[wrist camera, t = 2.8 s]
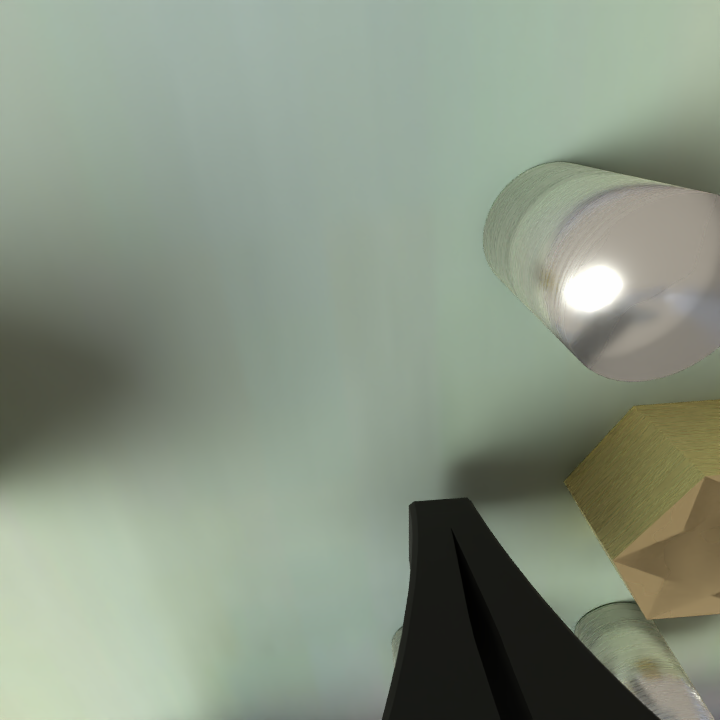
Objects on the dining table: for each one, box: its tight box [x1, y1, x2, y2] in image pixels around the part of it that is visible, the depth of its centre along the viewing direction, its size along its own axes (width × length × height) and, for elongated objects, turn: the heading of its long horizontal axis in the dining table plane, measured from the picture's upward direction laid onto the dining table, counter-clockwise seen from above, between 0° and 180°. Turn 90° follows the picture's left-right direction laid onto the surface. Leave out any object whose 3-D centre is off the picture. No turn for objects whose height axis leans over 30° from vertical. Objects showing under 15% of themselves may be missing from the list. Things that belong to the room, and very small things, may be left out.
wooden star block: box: [564, 399, 720, 620], centre depth 11 cm, size 5×4×2 cm
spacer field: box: [392, 162, 720, 720], centre depth 10 cm, size 14×15×4 cm
